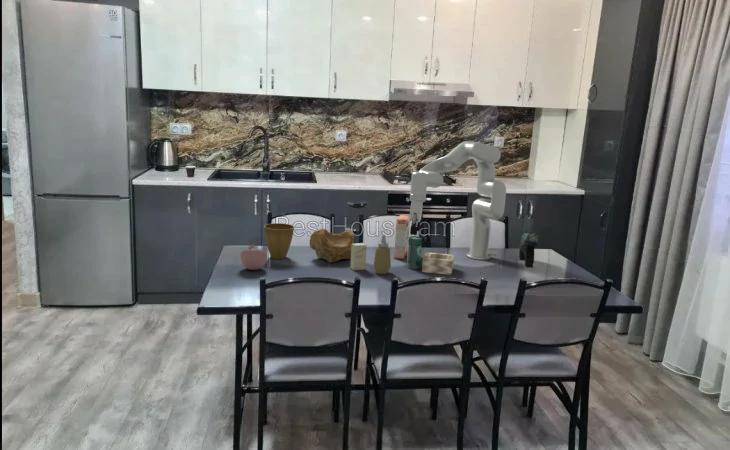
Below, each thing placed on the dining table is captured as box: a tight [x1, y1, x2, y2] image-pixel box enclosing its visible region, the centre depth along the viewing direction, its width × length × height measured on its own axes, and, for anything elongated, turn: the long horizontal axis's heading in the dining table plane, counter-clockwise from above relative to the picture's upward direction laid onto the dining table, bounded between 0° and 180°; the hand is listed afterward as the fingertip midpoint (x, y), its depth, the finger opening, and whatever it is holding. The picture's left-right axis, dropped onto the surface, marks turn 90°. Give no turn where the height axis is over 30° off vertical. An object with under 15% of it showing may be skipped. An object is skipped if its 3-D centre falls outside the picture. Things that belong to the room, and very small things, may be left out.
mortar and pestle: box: [239, 244, 268, 271], centre depth 251 cm, size 12×12×11 cm
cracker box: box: [393, 214, 411, 260], centre depth 287 cm, size 14×6×21 cm, turn 168°
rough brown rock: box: [309, 228, 355, 264], centre depth 273 cm, size 23×17×15 cm
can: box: [406, 235, 423, 270], centre depth 267 cm, size 6×6×15 cm
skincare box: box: [349, 242, 367, 271], centre depth 260 cm, size 6×4×12 cm
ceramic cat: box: [518, 226, 539, 268], centre depth 285 cm, size 20×6×20 cm, turn 177°
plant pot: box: [263, 222, 295, 260], centre depth 273 cm, size 15×15×16 cm
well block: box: [421, 251, 455, 276], centre depth 265 cm, size 14×12×7 cm
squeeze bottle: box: [373, 234, 392, 275], centre depth 255 cm, size 8×8×18 cm
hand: (414, 232), depth 265 cm, fingers open, 9 cm apart
